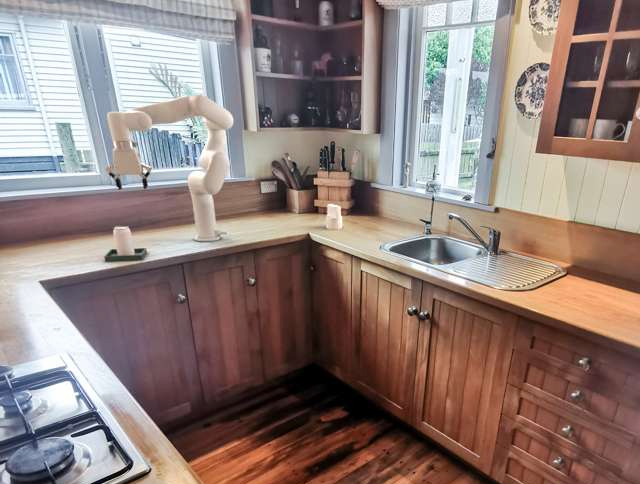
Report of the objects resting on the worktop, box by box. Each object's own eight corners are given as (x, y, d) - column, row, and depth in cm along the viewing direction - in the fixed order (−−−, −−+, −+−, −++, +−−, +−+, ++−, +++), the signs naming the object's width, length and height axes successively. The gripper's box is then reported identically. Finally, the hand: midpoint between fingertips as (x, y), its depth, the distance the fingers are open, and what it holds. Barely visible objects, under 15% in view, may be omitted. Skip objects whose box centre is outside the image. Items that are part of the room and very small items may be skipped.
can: (128, 258, 194) (122, 229, 189) (114, 256, 195) (108, 228, 190) (138, 254, 199) (133, 226, 194) (125, 252, 200) (119, 225, 195)
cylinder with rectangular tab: (322, 226, 259) (322, 204, 254) (335, 224, 264) (335, 203, 259) (332, 230, 253) (332, 207, 247) (345, 227, 258) (345, 206, 253)
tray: (146, 252, 204) (146, 248, 203) (142, 259, 194) (141, 255, 193) (111, 254, 200) (110, 249, 199) (105, 261, 191) (104, 256, 190)
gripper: (148, 144, 193) (156, 186, 201) (102, 144, 189) (112, 188, 197) (145, 146, 187) (153, 189, 194) (97, 146, 183) (108, 191, 190)
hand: (133, 188), depth 196 cm, fingers open, 9 cm apart
